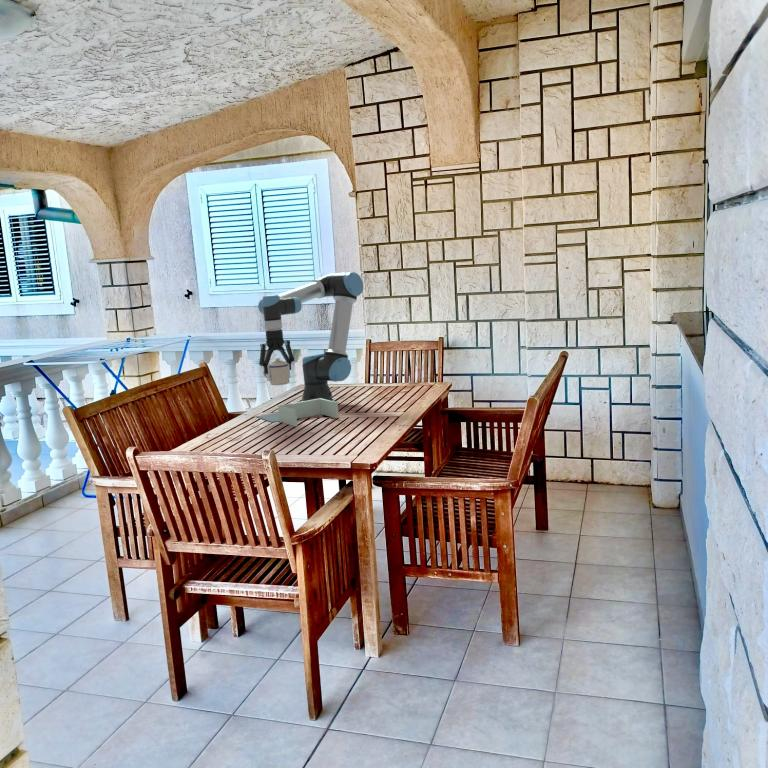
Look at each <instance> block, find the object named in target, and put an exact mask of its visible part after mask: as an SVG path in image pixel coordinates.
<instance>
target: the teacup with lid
mask: <svg viewBox="0 0 768 768" xmlns="http://www.w3.org/2000/svg"><path fill="white" fill-rule="evenodd" d="M268 366H269V367H270V377H271V381H269V382H270V385H271V386H284V385H288V384H290V378H289V371H288V363H287V362H286V361H283V360H281V358H280V357H277V358H275V360H273V362H271V363H269V364H268ZM262 375H263V376H264V378H266V379H267V377H266V374H265V373H264V370H263V374H262Z"/></svg>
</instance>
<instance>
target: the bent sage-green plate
mask: <svg viewBox="0 0 768 768" xmlns="http://www.w3.org/2000/svg"><path fill="white" fill-rule="evenodd" d="M338 403H339V402H338V401H333V400H326V399H322V398H319V399H313V400H308V401H302V400H301V401H297V402H292V403H287V404H280V405H277V413H279V421H278V422H281V423H282V424H286V425H289V426H292V427H299V426H298V419H302V418H307V417H311V416H313V417H314V416H317V415H324V416H327V417H329V418H330V417H331V418H333V419H334V418H335V419H339V418H340V416H339V415H340V414H339V404H338Z"/></svg>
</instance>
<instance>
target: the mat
mask: <svg viewBox="0 0 768 768" xmlns="http://www.w3.org/2000/svg"><path fill="white" fill-rule="evenodd" d="M255 417H256V418H257V419H260V420H264V421H267V422H270V423H278V422H280V421H279V413H278V412H275V413H274V412H273V413H267V414H263V415H262V414H261V415H257V416H255Z"/></svg>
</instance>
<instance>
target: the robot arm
mask: <svg viewBox="0 0 768 768" xmlns="http://www.w3.org/2000/svg"><path fill="white" fill-rule="evenodd" d="M363 291H364V282H363V279H362V277H361V276H360V275H359V274H358V273H356V272H354V271H353V272H352V271H346V272H344V271H343V272H333V273H332V272H331V273H328V274H326V275H324V276H321V277H318V278H316V279H313V280H312V281H311V282H310V283H307V284H305V285H302V286H299V287H296V288H294V289H291V290H288V291H286V292H283V293H279V294H270V295H269V294H268V295H267V294H266V295H264V296H262V298H261V299H260V300H259V301H258V306H257V307H258V311H259V313H261V314H262V315H263V318H264V329H265V330H266V331H265V338H266V342H264V343H260V345H259V346H260V354H259V361H258V362H259V363H258V364H259V366H261V367H263V371H264V373H265V374H266V377H267V378H266V381H267V382H270V381H271V377H270V367H269V366H268V365H269V364H270V360H271V358H272V355H273V353H274V351H279V352H280V354H281V356H282V357H283V359H284V360H285V362H287V363H288V371H289V379H291V371H292V363H293V362H295V358H294V353H293V350H292V347H291V341H290V339H289V340H288V339H285V340H284V334H283V329H282V328H283V324H282V323H283V322H282V316H284V315H285V316H286V315H295V314H298V313H300V312H301V310H302V308H303V306H302V304H304V303H306V302H308V301H310V300H314V299H316V298H317V299H322V298H328V297H329V298H330V297H332V298H333V300H334V301H335V303H334V309H333V316H332V322H331V329H330V335H329V341H328V347H327V349H326V350H325V351H324V352H323V353H318V354H317V353H316V354H313V355H307V356H304V357H302V364H301V365H302V366H301V367H302V374H303V383H304V388H303V391H302V397H301V402H302V401H308V400H313V399H319V398H322V399H326V400H330V401H333V393H332V391H331V389H330V386H329V383H328V382H335V383H337V382H343V381H346V379H348V378H349V376H350V374H351V371H352V364H351V361H350V359H349V354H348V353H347V352H346V351H347V346H348V345H347V344H348V338H349V331H350V326H351V325H350V324H351V319H352V318H351V317H352V312H353V311H352V310H353V305H354V304H355V303H356V302H357V299H358V296H360V295H361V294H362V293H363ZM283 345H285V348H286V349H285V348H284V346H283ZM266 348H267V350H266ZM285 350H286V351H287V352H286V351H285ZM266 351H267V352H266Z"/></svg>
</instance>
